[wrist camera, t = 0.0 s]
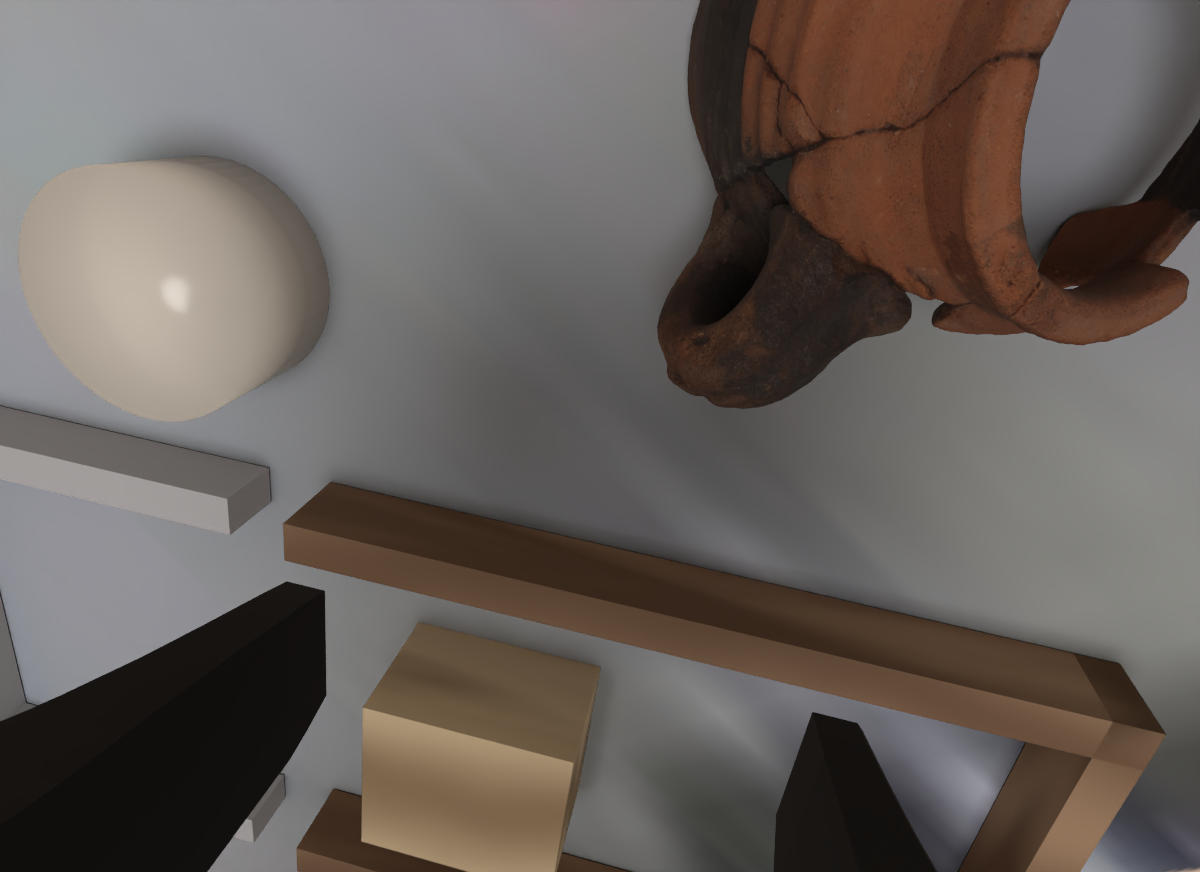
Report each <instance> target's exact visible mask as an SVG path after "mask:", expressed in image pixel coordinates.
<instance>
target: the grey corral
mask: <svg viewBox="0 0 1200 872" xmlns="http://www.w3.org/2000/svg"><path fill="white" fill-rule="evenodd" d="M0 479H1V480H5V481H9V482H14V483H18V484H22V485H26V486H30V487H34V488H38V489H42V490H46V491H51V492H55V493H59V494H63V495H67V496H71V497H75V498H79V499H84V500H88V501H92V502H96V503H100V504H104V505H108V506H112V507H116V508H121V509H125V510H129V511H133V512H137V513H141V514H145V515H149V516H154V517H158V518H162V519H166V520H170V521H174V522H178V523H182V524H186V525H191V526H195V527H199V528H203V529H207V530H211V531H215V532H219V533H223V534H228V535H231V534H232V533H233V532H234V531H236V530H237V529H238V528H239V527H241V526H242V525H243V524H244V523H246V522H247V521H248V520H249V519H250V518H252V517H253V516H254V515H255V514H257V513H258V512H259V511H260V510H262V509H263V508H264V507H265V506H267V505H268V504H269V503H270V502H271V497H270V477H269V468H266V467H262V466H258V465H253V464H249V463H245V462H240V461H236V460H232V459H227V458H223V457H219V456H214V455H210V454H206V453H201V452H197V451H193V450H188V449H184V448H180V447H175V446H171V445H166V444H162V443H158V442H153V441H149V440H145V439H140V438H136V437H132V436H127V435H123V434H119V433H114V432H110V431H106V430H101V429H97V428H93V427H88V426H84V425H80V424H75V423H71V422H67V421H62V420H58V419H54V418H49V417H45V416H41V415H36V414H32V413H28V412H23V411H19V410H15V409H10V408H6V407H2V406H0ZM33 707H36V706H35V705H31V704H28V703H26V701H25V697H24V693H23V688H22V684H21V680H20V676H19V672H18V668H17V663H16V659H15V655H14V651H13V647H12V642H11V638H10V634H9V630H8V626H7V622H6V617H5V613H4V609H3V605H2V601H1V597H0V721H2V720H5V719H7V718H10V717H12V716H14V715H17V714H19V713H22V712H24V711H26V710H29V709H31V708H33ZM284 798H285V784H284V775H281V774H279V775H278V776H277V778H276V779H275V781H274V782H273V783H272V785H271V786H270V787H269V789H268V790H267V792H266V793H265V794H264V796H263V797H262V798H261V800H260V801H259V802H258V804H257V805H256V807H255V808H254V809H253V811H252V812H251V813H250V815H249V816H248V817H247V819H246V820H245V821H244V823H243V824H242V825H241V827H240V828H239V830H238V831H237V832H236V834H235V835H234V836H233V837H234V838H238V839H241V840H244V841H248V842H251V843H254V842H255V841H256V839H257V838H258V836H259V835H260V833H261V832H262V830H263V829H264V827H265V826H266V824H267V823H268V822H269V820H270V819H271V817H272V816H273V814H274V813H275V811H276V810H277V808H278V807H279V806H280V804H281V803H282V801H283V800H284Z"/></svg>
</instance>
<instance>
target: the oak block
mask: <svg viewBox="0 0 1200 872" xmlns="http://www.w3.org/2000/svg"><path fill="white" fill-rule="evenodd" d="M599 672H600V667H598V666H594V665H590V664H586V663H582V662H578V661H574V660H570V659H566V658H562V657H558V656H554V655H550V654H546V653H542V652H538V651H534V650H530V649H525V648H521V647H517V646H513V645H509V644H505V643H501V642H497V641H493V640H489V639H485V638H481V637H477V636H473V635H469V634H465V633H461V632H457V631H453V630H449V629H445V628H441V627H437V626H432V625H428V624H424V623H420V622H419V623H418V625H417V626H416V628H415V629H414V631H413V632H412V634H411V635H410V637H409V638H408V640H407V641H406V643H405V644H404V646H403V647H402V649H401V650H400V652H399V653H398V655H397V656H396V658H395V659H394V661H393V663H392V664H391V666H390V667H389V669H388V670H387V672H386V673H385V675H384V676H383V678H382V679H381V681H380V682H379V684H378V685H377V687H376V688H375V690H374V691H373V693H372V694H371V696H370V697H369V699H368V701H367V702H366V704H365V705H364V707H363V742H362V838H361V841H362V842H365V843H369V844H372V845H376V846H379V847H383V848H386V849H390V850H394V851H397V852H401V853H404V854H408V855H411V856H415V857H418V858H422V859H425V860H429V861H432V862H436V863H439V864H443V865H446V866H450V867H453V868H457V869H460V870H464V871H467V872H557V868H558V864H559V860H560V857H561V853H562V849H563V845H564V841H565V838H566V834H567V830H568V826H569V822H570V818H571V815H572V811H573V807H574V803H575V799H576V796H577V792H578V787H579V782H580V776H581V771H582V765H583V760H584V754H585V749H586V743H587V738H588V732H589V727H590V722H591V716H592V711H593V705H594V700H595V694H596V689H597V683H598V678H599Z"/></svg>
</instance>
